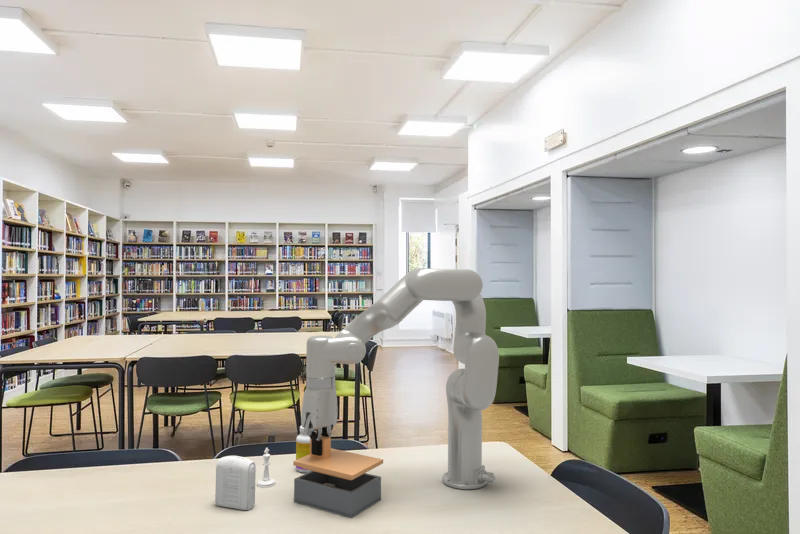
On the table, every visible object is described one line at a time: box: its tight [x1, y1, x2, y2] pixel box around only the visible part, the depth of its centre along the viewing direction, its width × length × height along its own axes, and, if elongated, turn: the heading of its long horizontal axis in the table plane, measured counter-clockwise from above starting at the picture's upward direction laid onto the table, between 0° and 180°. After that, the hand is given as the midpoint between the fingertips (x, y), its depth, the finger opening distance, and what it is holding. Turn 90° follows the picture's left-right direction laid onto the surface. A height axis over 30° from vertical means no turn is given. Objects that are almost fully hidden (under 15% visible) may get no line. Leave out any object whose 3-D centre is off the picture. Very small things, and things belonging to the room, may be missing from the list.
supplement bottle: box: [295, 425, 316, 474], centre depth 169 cm, size 7×7×13 cm
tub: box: [293, 471, 382, 519], centre depth 146 cm, size 18×13×6 cm
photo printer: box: [214, 455, 257, 511], centre depth 142 cm, size 10×4×12 cm, turn 72°
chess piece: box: [256, 447, 276, 488], centre depth 157 cm, size 5×5×10 cm
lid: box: [292, 435, 384, 480], centre depth 146 cm, size 19×14×7 cm
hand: (320, 452), depth 149 cm, fingers closed on lid
